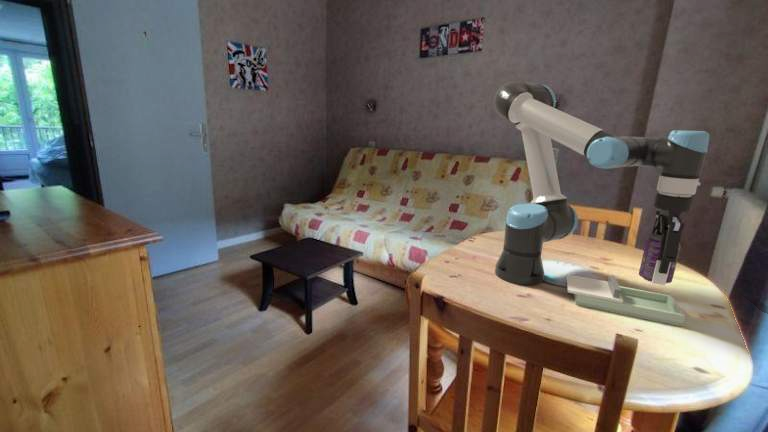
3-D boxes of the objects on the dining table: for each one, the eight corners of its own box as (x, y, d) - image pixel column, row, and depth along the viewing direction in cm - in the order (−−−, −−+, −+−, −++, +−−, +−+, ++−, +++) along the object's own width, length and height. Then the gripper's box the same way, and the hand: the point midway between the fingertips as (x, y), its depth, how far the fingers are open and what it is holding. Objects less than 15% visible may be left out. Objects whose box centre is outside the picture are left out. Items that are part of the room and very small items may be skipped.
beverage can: (661, 275, 95) (672, 234, 91) (677, 287, 88) (689, 243, 85) (633, 272, 96) (642, 232, 93) (646, 284, 89) (656, 240, 86)
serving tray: (575, 304, 96) (577, 294, 95) (572, 286, 107) (574, 277, 106) (682, 326, 87) (685, 316, 86) (668, 304, 97) (670, 295, 96)
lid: (567, 292, 97) (569, 282, 96) (566, 276, 107) (567, 266, 106) (622, 303, 91) (625, 292, 90) (615, 285, 101) (617, 275, 101)
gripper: (710, 203, 75) (684, 297, 81) (680, 188, 93) (660, 267, 99) (668, 199, 78) (646, 290, 85) (646, 186, 96) (629, 262, 102)
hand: (654, 277), depth 92 cm, fingers closed on beverage can, 7 cm apart
